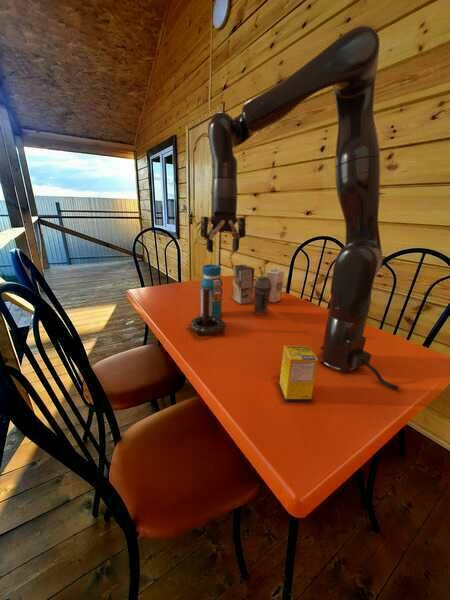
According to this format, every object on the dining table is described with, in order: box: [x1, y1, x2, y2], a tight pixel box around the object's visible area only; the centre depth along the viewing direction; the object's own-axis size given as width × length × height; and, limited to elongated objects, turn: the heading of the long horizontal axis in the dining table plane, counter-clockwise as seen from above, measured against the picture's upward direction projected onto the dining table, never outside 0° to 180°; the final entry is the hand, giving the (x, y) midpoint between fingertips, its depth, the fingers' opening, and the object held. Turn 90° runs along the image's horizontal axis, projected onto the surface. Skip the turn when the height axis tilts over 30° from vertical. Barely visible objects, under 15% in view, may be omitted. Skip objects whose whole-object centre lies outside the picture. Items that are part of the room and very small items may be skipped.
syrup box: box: [266, 268, 285, 304], centre depth 119 cm, size 6×6×14 cm
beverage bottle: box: [199, 264, 223, 318], centre depth 97 cm, size 8×8×20 cm
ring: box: [189, 315, 226, 336], centre depth 86 cm, size 12×12×2 cm
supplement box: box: [278, 345, 319, 402], centre depth 57 cm, size 6×6×11 cm
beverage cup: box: [253, 265, 272, 314], centre depth 101 cm, size 7×7×20 cm
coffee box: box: [231, 264, 255, 305], centre depth 117 cm, size 9×6×16 cm
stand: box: [188, 288, 224, 338], centre depth 84 cm, size 9×9×16 cm
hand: (223, 251), depth 80 cm, fingers open, 8 cm apart
